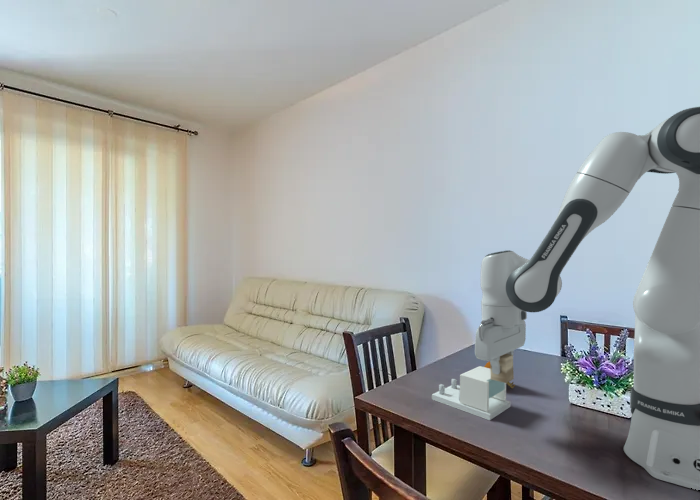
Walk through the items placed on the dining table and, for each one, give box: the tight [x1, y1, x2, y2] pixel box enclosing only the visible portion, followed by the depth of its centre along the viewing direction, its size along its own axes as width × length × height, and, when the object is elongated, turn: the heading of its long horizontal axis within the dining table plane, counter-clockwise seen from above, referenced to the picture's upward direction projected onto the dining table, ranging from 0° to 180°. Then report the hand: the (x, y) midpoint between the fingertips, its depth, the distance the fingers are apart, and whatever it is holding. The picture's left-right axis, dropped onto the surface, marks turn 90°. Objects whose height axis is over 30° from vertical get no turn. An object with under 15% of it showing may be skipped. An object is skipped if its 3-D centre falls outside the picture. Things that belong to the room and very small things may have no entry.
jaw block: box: [490, 354, 515, 383], centre depth 94 cm, size 4×4×6 cm
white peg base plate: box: [431, 378, 511, 421], centre depth 108 cm, size 18×12×4 cm, turn 43°
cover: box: [459, 365, 507, 412], centre depth 105 cm, size 8×11×8 cm
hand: (502, 370), depth 94 cm, fingers closed on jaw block, 4 cm apart
